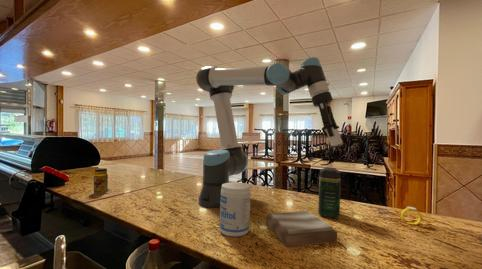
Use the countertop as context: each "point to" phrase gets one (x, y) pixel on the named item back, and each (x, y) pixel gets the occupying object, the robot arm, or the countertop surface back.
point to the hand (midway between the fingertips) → (337, 144)
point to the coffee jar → (329, 192)
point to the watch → (411, 210)
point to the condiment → (100, 181)
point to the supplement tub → (235, 209)
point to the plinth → (300, 228)
